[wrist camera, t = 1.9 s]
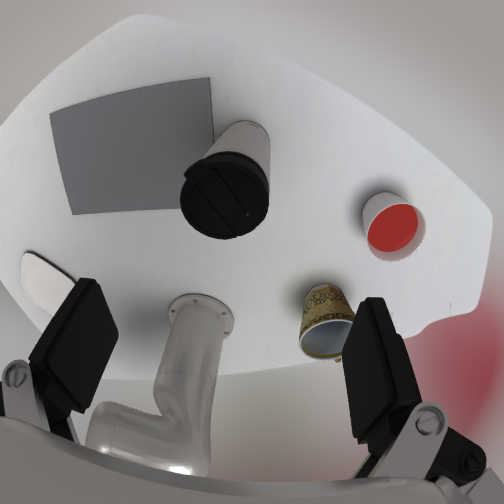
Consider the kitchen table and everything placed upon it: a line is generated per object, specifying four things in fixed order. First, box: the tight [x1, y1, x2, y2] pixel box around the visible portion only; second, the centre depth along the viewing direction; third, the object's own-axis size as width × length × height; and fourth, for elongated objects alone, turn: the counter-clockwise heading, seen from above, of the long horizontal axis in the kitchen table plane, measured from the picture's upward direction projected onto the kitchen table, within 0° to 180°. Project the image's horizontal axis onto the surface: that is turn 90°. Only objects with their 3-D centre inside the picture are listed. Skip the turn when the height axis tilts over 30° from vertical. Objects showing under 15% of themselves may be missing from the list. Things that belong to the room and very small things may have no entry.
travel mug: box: [180, 121, 270, 240], centre depth 27 cm, size 6×7×20 cm
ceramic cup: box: [299, 283, 355, 362], centre depth 46 cm, size 13×10×10 cm
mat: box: [50, 78, 214, 215], centre depth 37 cm, size 18×26×1 cm
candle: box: [362, 192, 426, 262], centre depth 37 cm, size 9×9×6 cm
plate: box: [21, 252, 75, 316], centre depth 53 cm, size 18×18×2 cm
